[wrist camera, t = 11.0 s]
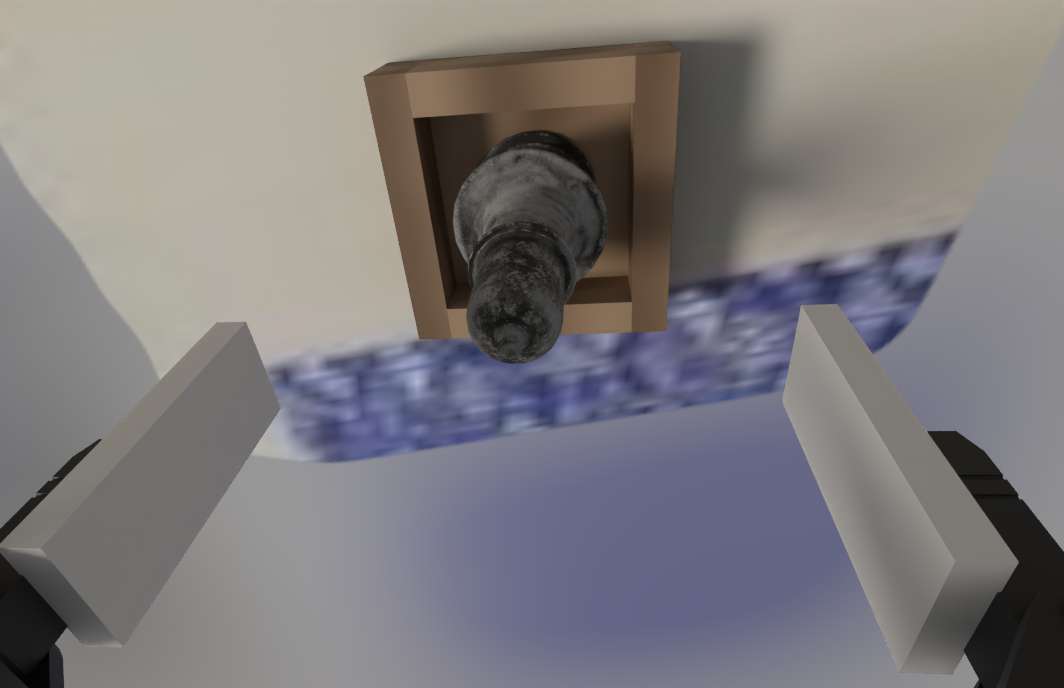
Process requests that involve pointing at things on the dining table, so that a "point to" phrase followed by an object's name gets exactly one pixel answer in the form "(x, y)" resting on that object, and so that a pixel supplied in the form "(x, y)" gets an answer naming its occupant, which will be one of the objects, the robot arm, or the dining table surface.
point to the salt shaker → (527, 241)
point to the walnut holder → (526, 106)
